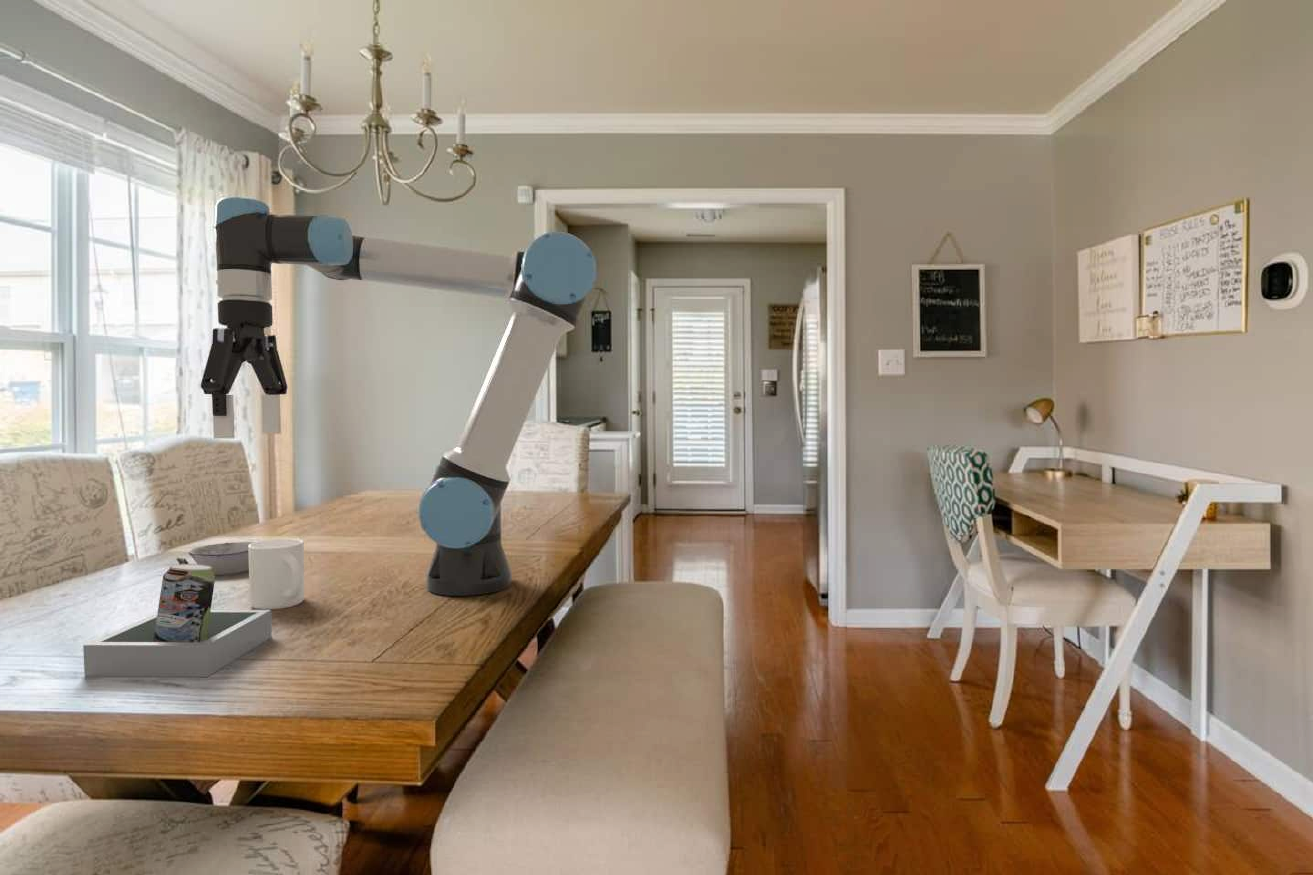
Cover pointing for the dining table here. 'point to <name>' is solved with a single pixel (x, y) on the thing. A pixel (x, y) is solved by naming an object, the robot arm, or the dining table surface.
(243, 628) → the corral
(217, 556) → the bowl
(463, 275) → the robot arm
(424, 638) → the dining table surface
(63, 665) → the dining table surface
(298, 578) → the mug
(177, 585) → the beverage can
